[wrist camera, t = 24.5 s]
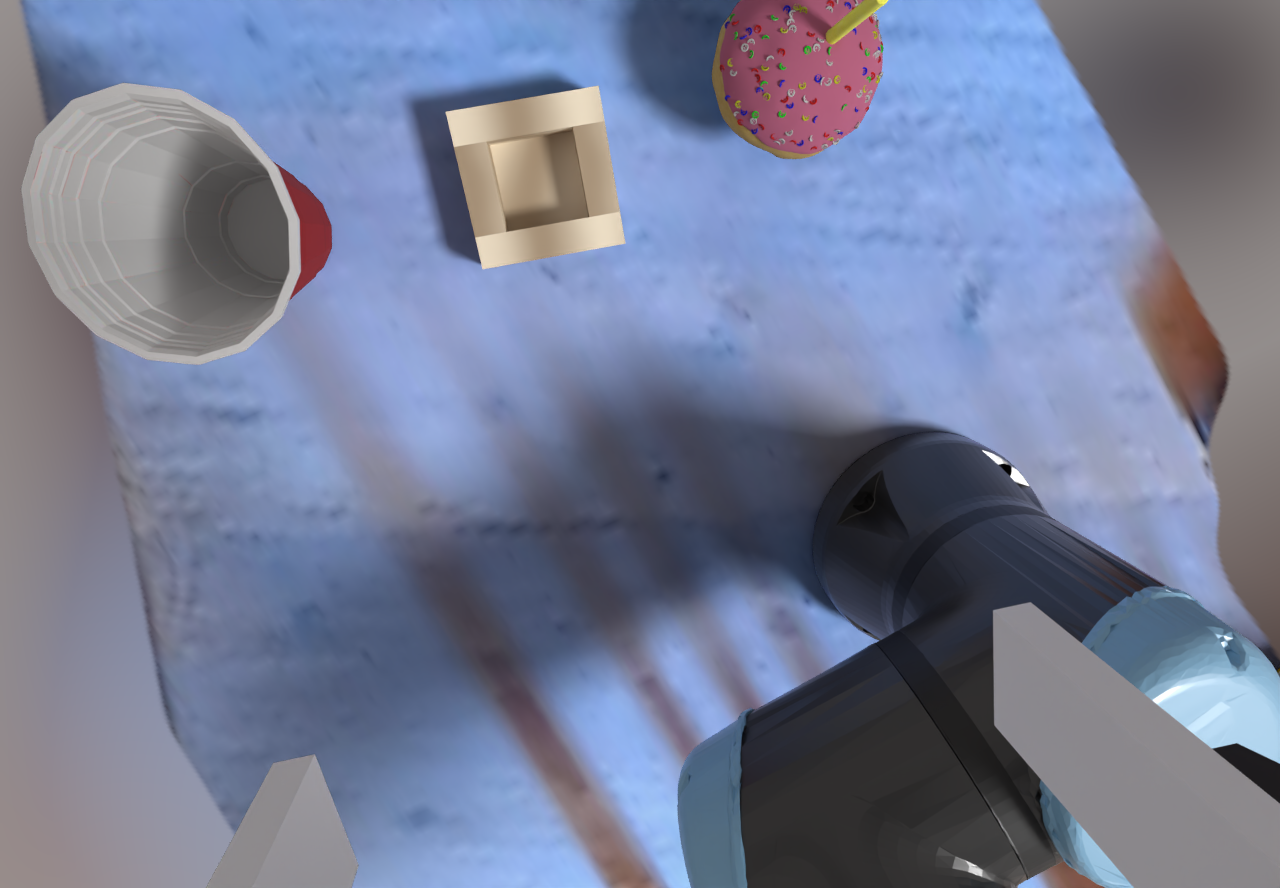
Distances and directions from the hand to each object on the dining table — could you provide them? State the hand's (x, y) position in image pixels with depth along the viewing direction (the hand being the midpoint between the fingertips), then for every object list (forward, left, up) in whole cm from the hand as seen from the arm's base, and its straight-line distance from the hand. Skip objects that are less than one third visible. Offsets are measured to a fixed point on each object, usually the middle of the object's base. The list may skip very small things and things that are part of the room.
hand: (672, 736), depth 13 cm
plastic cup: (+16, -12, -32) cm, 38 cm away
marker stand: (+1, -12, -32) cm, 34 cm away
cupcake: (-13, -15, -32) cm, 38 cm away
